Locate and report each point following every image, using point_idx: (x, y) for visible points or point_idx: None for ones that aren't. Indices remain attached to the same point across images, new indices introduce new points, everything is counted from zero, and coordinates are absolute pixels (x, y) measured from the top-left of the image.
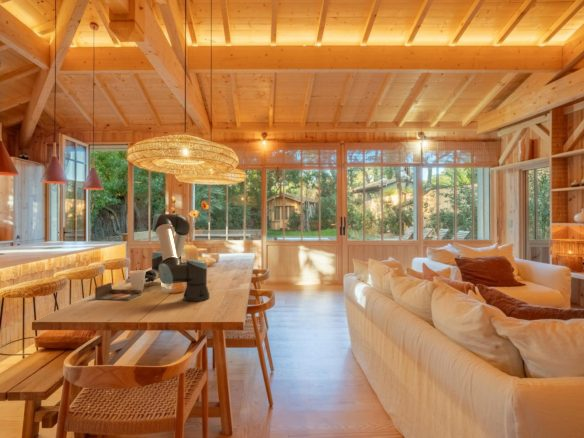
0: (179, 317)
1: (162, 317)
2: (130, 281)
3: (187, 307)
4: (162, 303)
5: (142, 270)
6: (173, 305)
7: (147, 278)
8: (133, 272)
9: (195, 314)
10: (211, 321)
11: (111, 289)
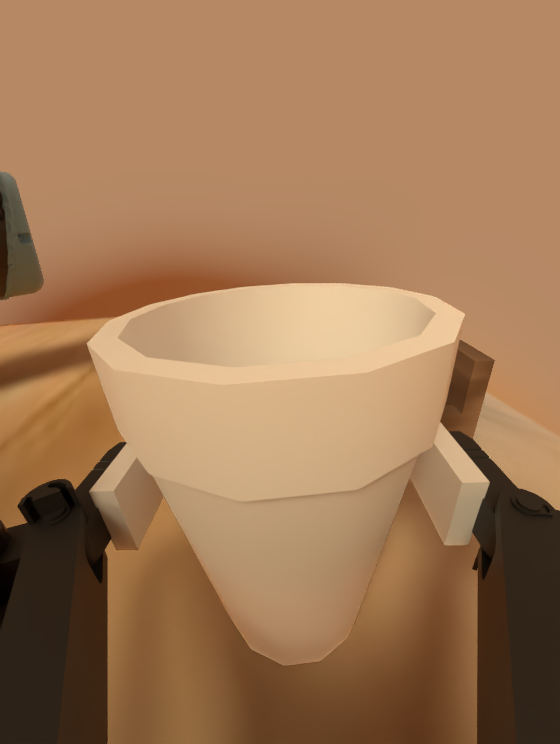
0: (65, 327)
1: (104, 324)
2: (421, 486)
3: (4, 358)
4: (79, 370)
5: (197, 363)
6: (43, 363)
7: (103, 479)
8: (293, 285)
9: (16, 337)
10: (6, 325)
11: (450, 407)
